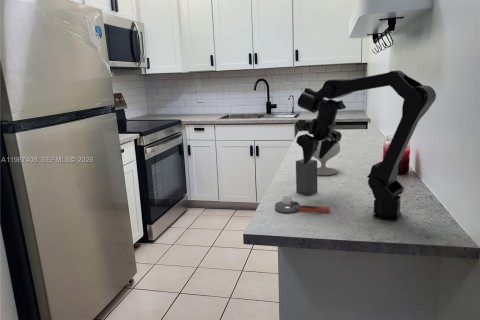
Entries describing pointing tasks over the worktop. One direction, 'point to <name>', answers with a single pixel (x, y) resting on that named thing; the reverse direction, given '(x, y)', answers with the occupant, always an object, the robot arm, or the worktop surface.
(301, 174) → the brushed metal block
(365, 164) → the worktop surface
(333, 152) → the chalice
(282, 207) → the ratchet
